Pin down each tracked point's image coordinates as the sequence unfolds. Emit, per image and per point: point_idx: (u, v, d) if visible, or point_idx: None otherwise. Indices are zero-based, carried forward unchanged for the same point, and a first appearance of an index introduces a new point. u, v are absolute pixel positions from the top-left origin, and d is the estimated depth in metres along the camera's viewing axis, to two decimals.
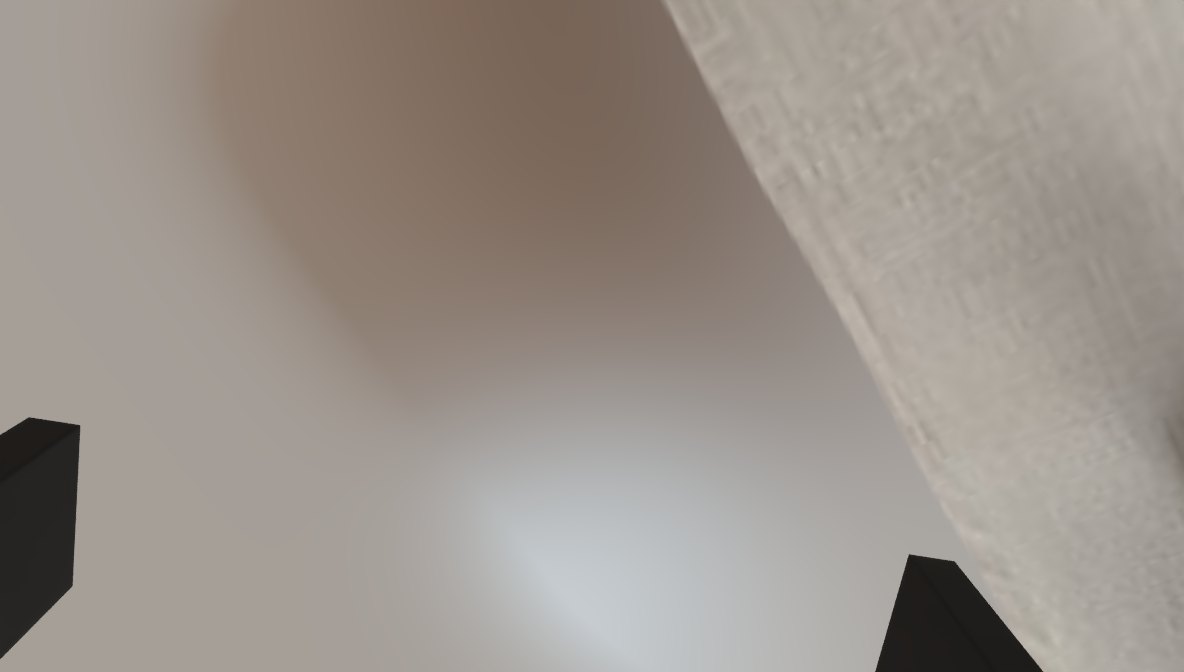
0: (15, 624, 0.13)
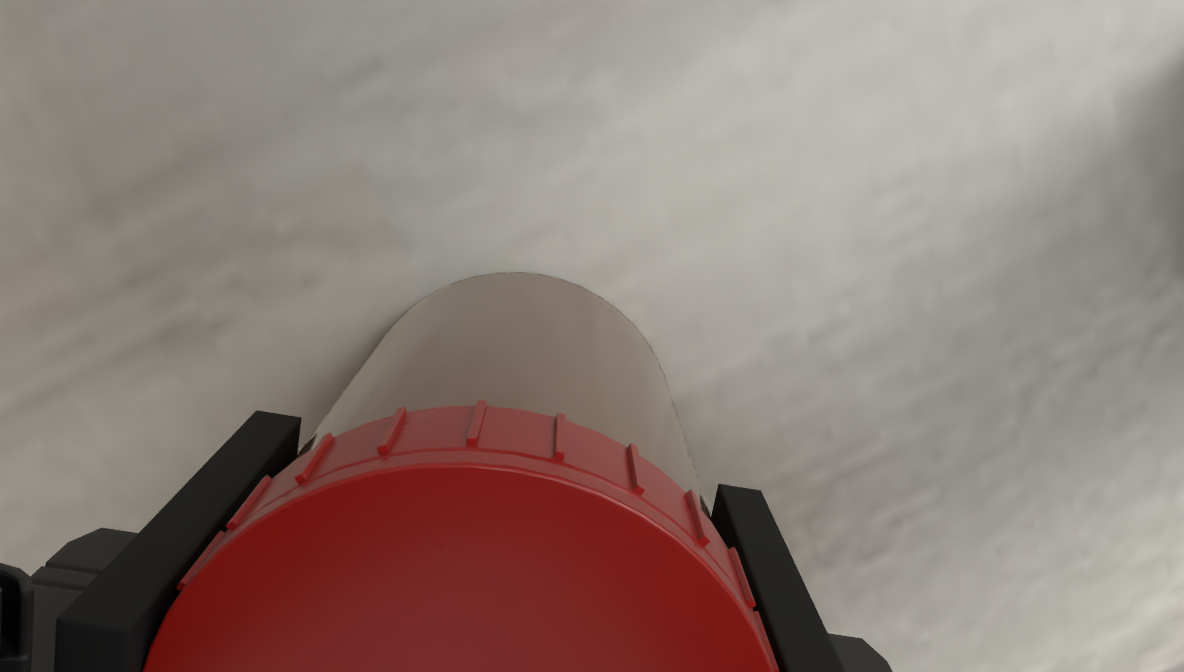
0: None
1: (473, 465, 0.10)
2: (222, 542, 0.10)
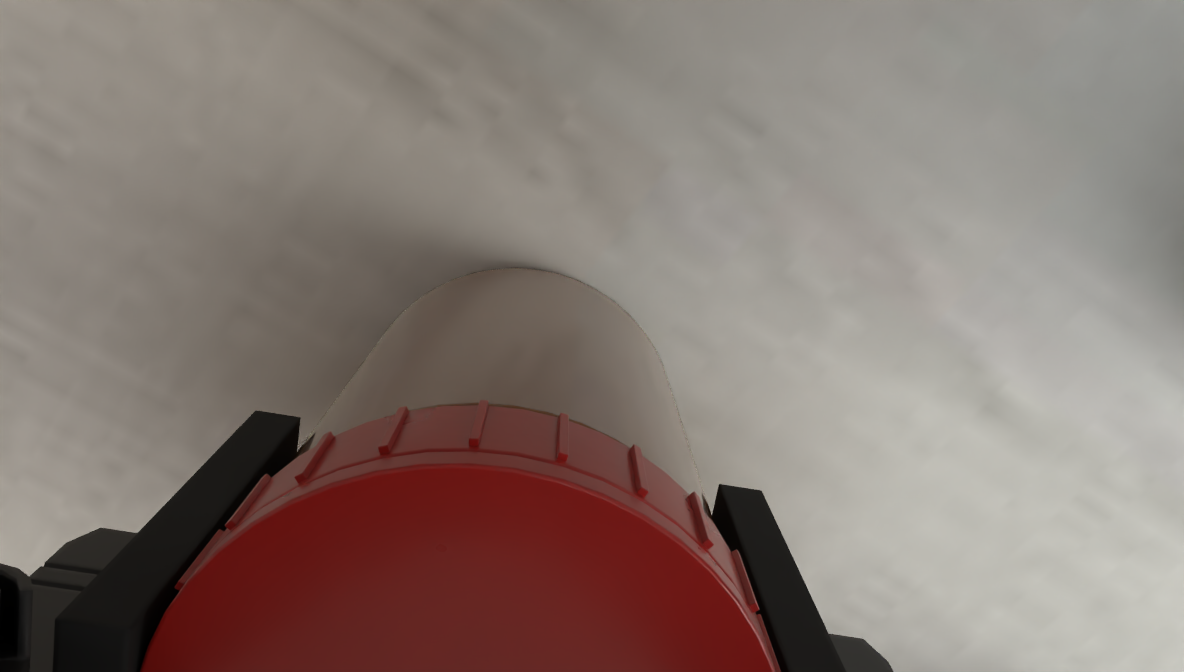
0: None
1: (475, 466, 0.10)
2: (221, 542, 0.10)
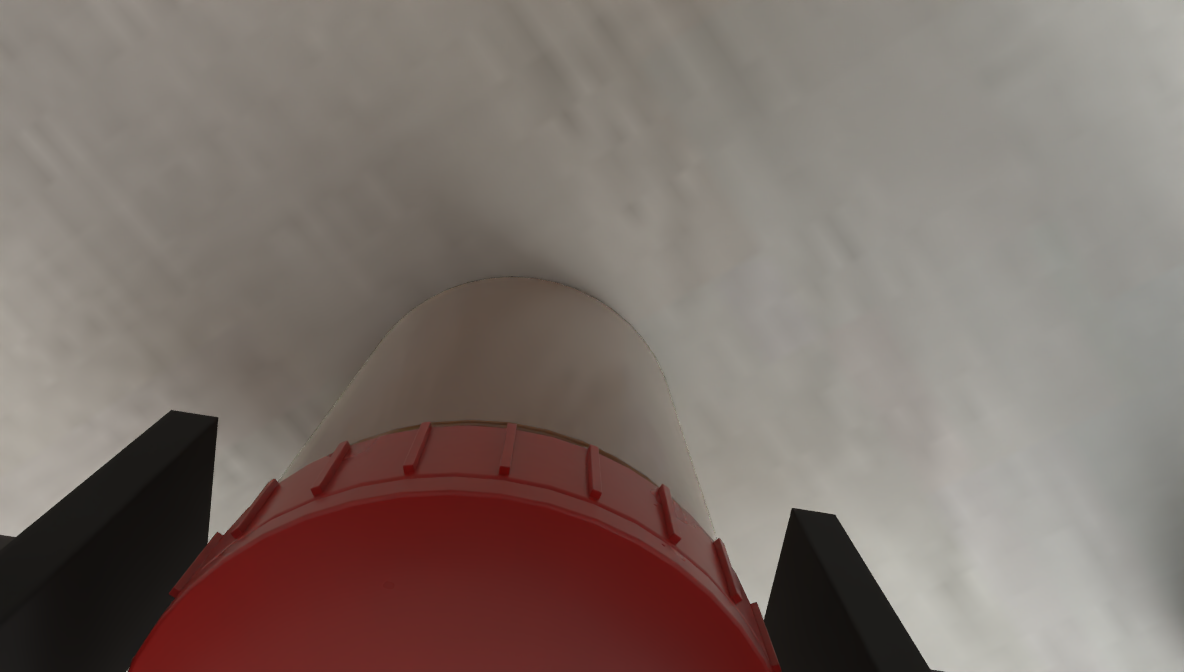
0: (167, 599, 0.15)
1: (409, 494, 0.09)
2: (165, 611, 0.10)
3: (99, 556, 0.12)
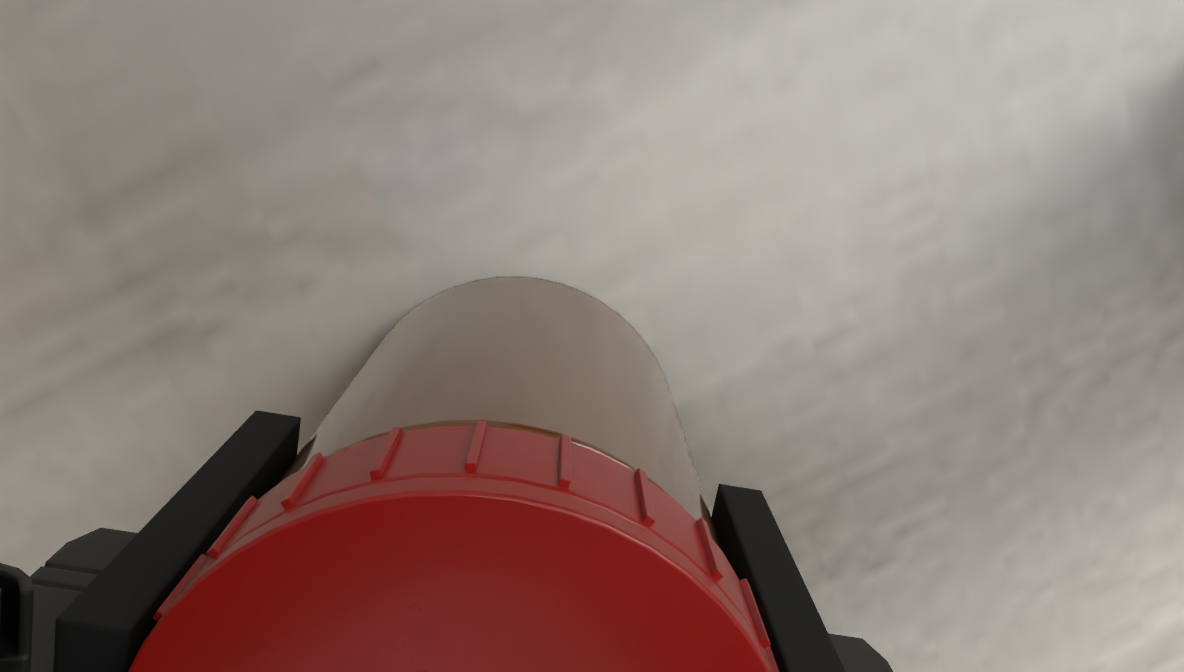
0: None
1: None
2: None
3: None
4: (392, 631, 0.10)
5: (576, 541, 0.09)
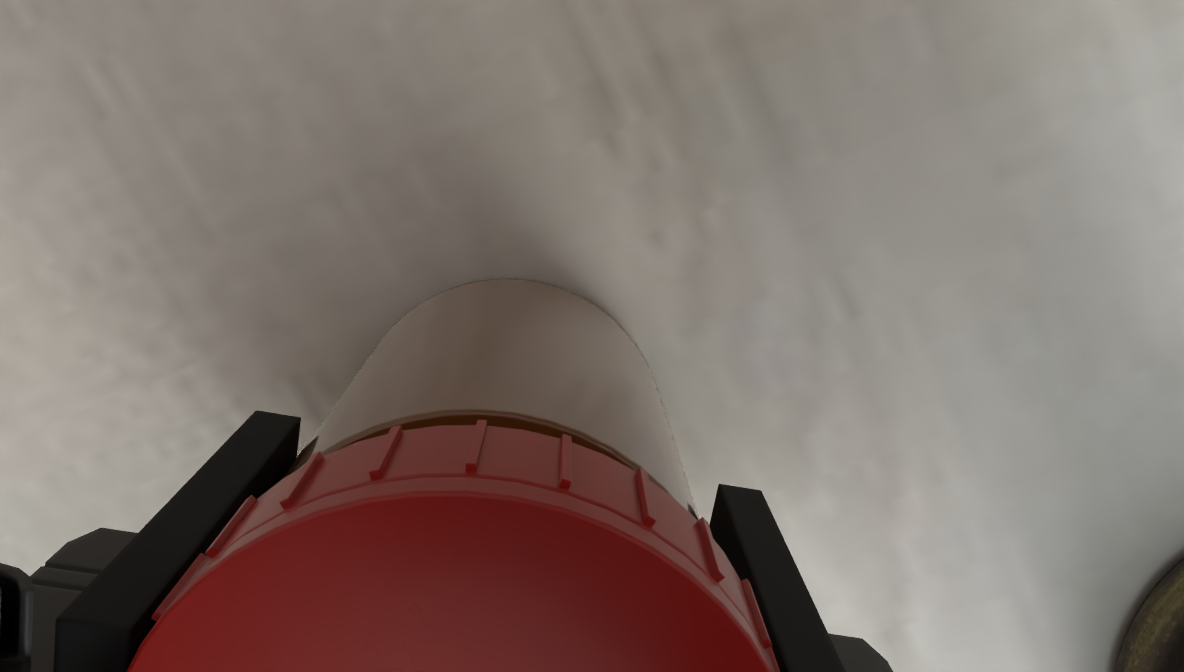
0: None
1: None
2: None
3: None
4: (392, 632, 0.09)
5: (577, 542, 0.09)
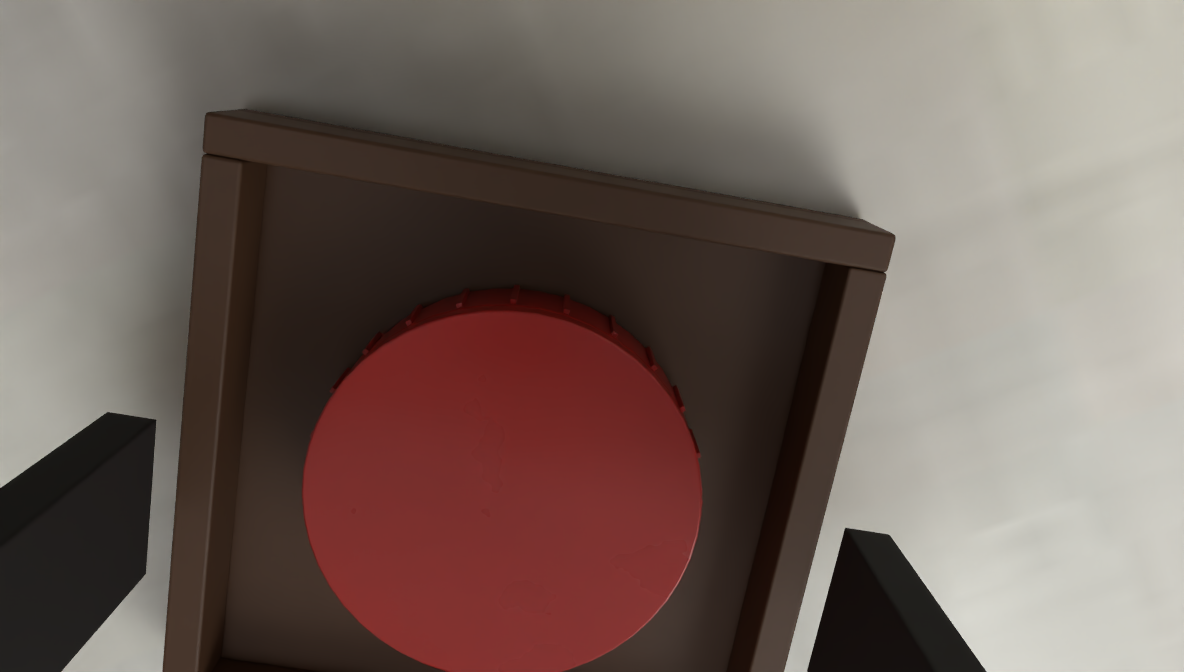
0: (99, 608, 0.14)
1: (304, 490, 0.17)
2: None
3: (11, 565, 0.11)
4: (469, 392, 0.17)
5: (573, 339, 0.17)
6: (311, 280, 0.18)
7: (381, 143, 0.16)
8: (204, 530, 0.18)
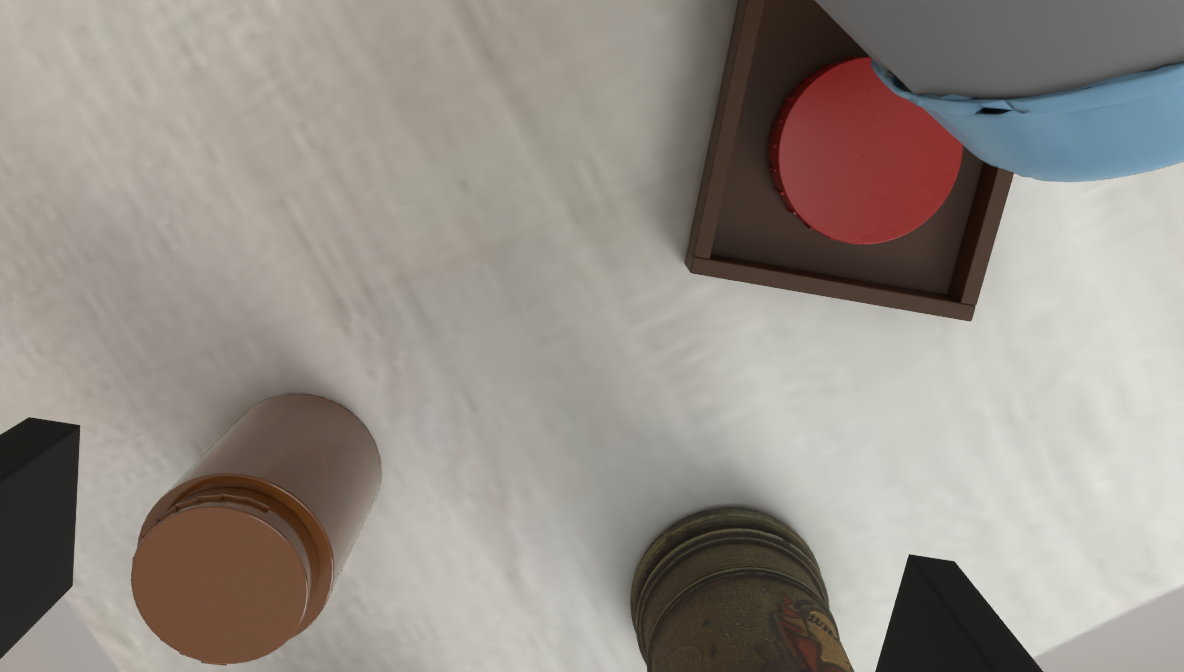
0: (15, 624, 0.13)
1: (780, 145, 0.38)
2: (797, 214, 0.39)
3: None
4: (861, 96, 0.37)
5: None
6: (772, 53, 0.39)
7: None
8: (726, 168, 0.38)
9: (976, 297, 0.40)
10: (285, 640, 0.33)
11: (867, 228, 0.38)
